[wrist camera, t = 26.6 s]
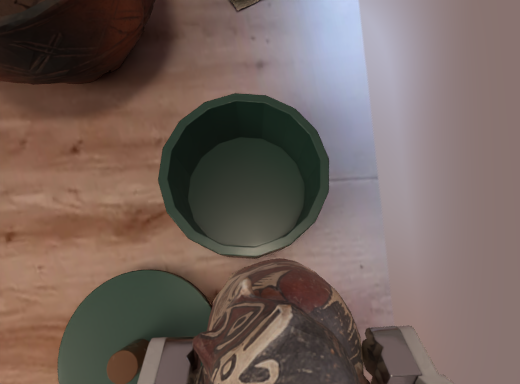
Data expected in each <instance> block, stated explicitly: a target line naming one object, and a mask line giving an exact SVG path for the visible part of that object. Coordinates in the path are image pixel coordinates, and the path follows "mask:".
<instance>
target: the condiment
mask: <svg viewBox="0 0 520 384" xmlns="http://www.w3.org/2000/svg"><path fill="white" fill-rule="evenodd" d="M230 1H231V2H232V3H233V5H234V6H235V7H236V9H237V10H240V9H242V8H245V7H247V6H249V5H251V4H253V3H256V2H258V1H260V0H230Z"/></svg>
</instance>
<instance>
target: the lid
mask: <svg viewBox="0 0 520 384" xmlns="http://www.w3.org/2000/svg"><path fill="white" fill-rule="evenodd" d="M211 310H212V308H211V306H210V304H209V302H208V301H207V300H206V298H205V297H204V295H203V294H202V293H201V292H200V291H199V290H198V289H197V288H196V287H195V286H193V285H192V284H191V283H190V282H188V281H186V280H185V279H183V278H182V277H179V276H177V275H175V274H172V273H169V272H165V271H159V270H138V271H132V272H128V273H124V274H121V275H119V276H116V277H114V278H112V279H110V280H108V281H106V282H105V283H103V284H102V285H100V286H99V287H98V288H96V289H95V290H94V291H93V292H91V293H90V294H89V295H88V296H87V297H86V298H85V299H84V301H83V302H82V303H81V304H80V305H79V307H78V308H77V309H76V311H75V312H74V314H73V315H72V317H71V319H70V321H69V323H68V325H67V327H66V329H65V332H64V335H63V337H62V341H61V345H60V349H59V356H58V380H59V384H137V382H138V379H139V375H140V372H141V369H142V365H143V362H144V359H145V355H146V352H147V348H148V345H149V343H150V341H151V339H152V338H160V337H188V336H197V335H198V334H199V333H201V332H205V331H207V327H208V322H209V316H210V313H211ZM202 365H203V364H202V362H201V366H202Z"/></svg>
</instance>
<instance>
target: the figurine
mask: <svg viewBox="0 0 520 384" xmlns="http://www.w3.org/2000/svg"><path fill="white" fill-rule="evenodd" d="M193 348H194V350H195V351H196V352H197V354H198V355H199V358H200V360H201V362H202V364H203V365H202V366H201V368H200V369H199V371H198V372H197V375H196V377H195V379H194V384H371V383H370V382H369V381H368V380H367V379H366V377H365V376H364V375H363V355H362V347H361V339H360V335H359V332H358V330H357V327H356V324H355V322H354V319H353V317H352V314H351V312H350V310H349V309H348V307H347V306H346V304H345V302H344V301H343V299H342V298H341V296H340V295H339V293H338V292H337V291H336V290H335V289H334V288H333V287H332V286H331V285H329V284H328V283H327V282H326V281H325V280H324V279H323V278H321V277H320V276H319V275H318V274H317V273H316V272H314V271H312V270H311V269H309V268H307V267H305V266H303V265H301V264H300V263H298V262H295V261H291V260H287V259H272V260H267V261H262V262H260V263H257V264H254V265H251V266H248V267H244V268H242V269H241V270H238V271H236V272H235V273H233V274H232V275H231V276H230V277H229V279H228V281H227V283H226V284H225V286H224V287H223V289H222V290H221V291H220V292H219V293H218V294H217V296H216V298H215V299H214V301H213V307H212V310H211V313H210V316H209V322H208V327H207V331H205V332H201V333H199V334H198V335H197V336H196V337H195V338H193Z"/></svg>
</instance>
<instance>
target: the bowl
mask: <svg viewBox="0 0 520 384" xmlns="http://www.w3.org/2000/svg"><path fill="white" fill-rule="evenodd" d="M154 2H155V0H0V81H6V82H13V83H28V84H51V83H69V84H81V83H88V82H92V81H95V80H97V79H98V78H99V77H100V76H101V75H103V74H104V73H106V72H108V71H109V72H112V71H114V70H116V69H117V68H119V67H120V66H121V64H122V63H123V62H124V60H125V58H126V56H127V55H128V53H129V52H130V51H131V50H132V48H133V47H134V45H135V44H136V43H137V41H138V40H139V38H140V36H141V35H142V33H143V32H144V25H145V24H146V23H147V22H148V21H149V18H150V15H151V12H152V9H153V5H154Z"/></svg>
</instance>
